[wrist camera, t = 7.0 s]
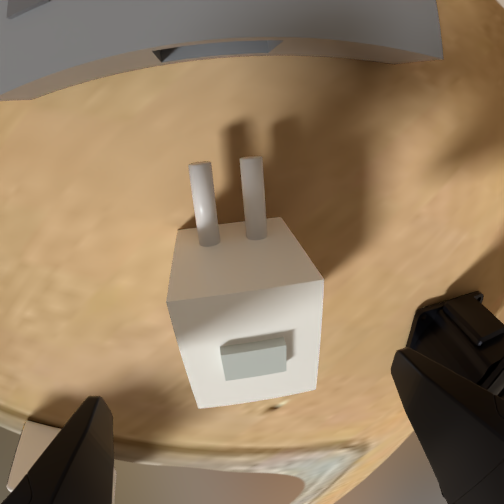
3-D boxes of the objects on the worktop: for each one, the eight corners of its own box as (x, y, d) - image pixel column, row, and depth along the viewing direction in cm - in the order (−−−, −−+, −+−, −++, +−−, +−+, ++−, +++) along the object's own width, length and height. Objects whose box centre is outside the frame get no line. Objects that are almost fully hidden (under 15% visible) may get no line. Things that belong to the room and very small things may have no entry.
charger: (283, 309, 16) (318, 397, 11) (195, 321, 16) (198, 416, 10) (277, 148, 13) (332, 179, 7) (167, 161, 12) (140, 201, 7)
